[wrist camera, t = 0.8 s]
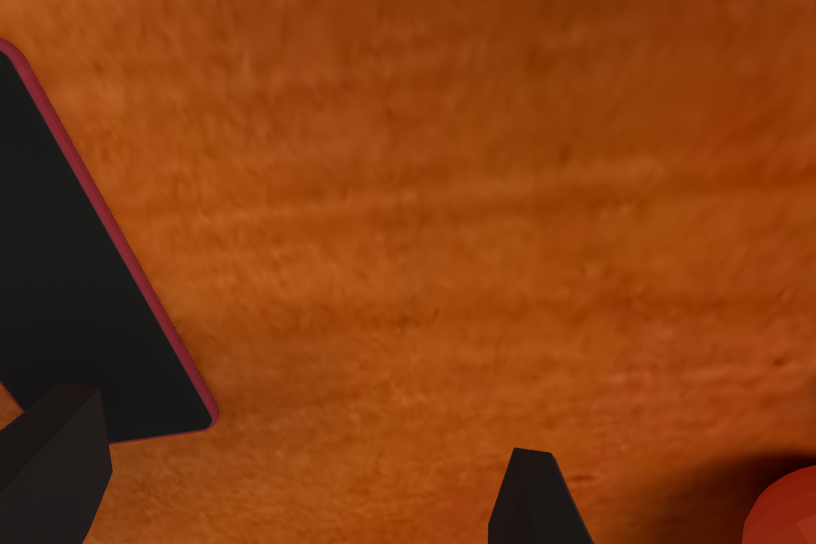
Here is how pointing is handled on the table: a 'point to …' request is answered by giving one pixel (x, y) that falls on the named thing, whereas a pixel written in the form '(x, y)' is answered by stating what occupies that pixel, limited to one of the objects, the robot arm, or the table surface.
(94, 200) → the smartphone
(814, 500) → the clementine
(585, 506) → the table surface
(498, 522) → the robot arm
